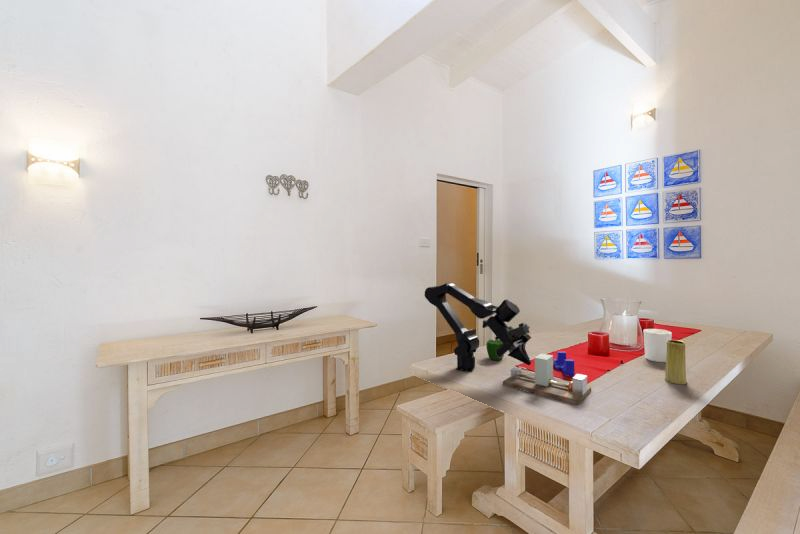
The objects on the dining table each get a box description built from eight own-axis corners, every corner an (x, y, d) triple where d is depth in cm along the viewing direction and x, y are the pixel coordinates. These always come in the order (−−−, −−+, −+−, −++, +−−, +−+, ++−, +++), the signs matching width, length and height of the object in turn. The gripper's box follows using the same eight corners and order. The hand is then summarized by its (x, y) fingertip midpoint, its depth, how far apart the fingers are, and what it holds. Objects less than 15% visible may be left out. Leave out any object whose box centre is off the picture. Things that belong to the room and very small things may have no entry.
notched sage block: (535, 383, 120) (534, 357, 120) (541, 378, 125) (541, 353, 124) (546, 386, 118) (546, 359, 117) (553, 381, 122) (553, 355, 122)
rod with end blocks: (509, 380, 127) (509, 364, 127) (515, 376, 131) (515, 361, 131) (582, 397, 111) (582, 380, 110) (587, 393, 114) (587, 375, 114)
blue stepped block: (553, 365, 144) (553, 351, 144) (565, 366, 143) (564, 351, 143) (561, 376, 132) (561, 360, 132) (574, 376, 131) (574, 360, 131)
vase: (682, 379, 125) (682, 340, 125) (689, 385, 120) (690, 344, 119) (661, 377, 127) (662, 339, 127) (668, 383, 122) (669, 343, 121)
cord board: (502, 385, 124) (502, 380, 124) (519, 374, 135) (519, 370, 135) (578, 404, 107) (578, 399, 107) (591, 390, 117) (591, 386, 117)
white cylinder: (677, 362, 143) (678, 333, 142) (653, 363, 143) (653, 334, 143) (660, 355, 153) (660, 328, 152) (637, 356, 153) (637, 329, 152)
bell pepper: (489, 361, 151) (488, 339, 150) (484, 356, 159) (484, 334, 158) (508, 361, 151) (508, 338, 150) (502, 355, 159) (502, 333, 159)
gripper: (503, 320, 120) (535, 358, 113) (525, 312, 134) (555, 345, 127) (483, 339, 126) (512, 376, 119) (507, 330, 140) (534, 362, 133)
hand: (530, 364), depth 124 cm, fingers closed
